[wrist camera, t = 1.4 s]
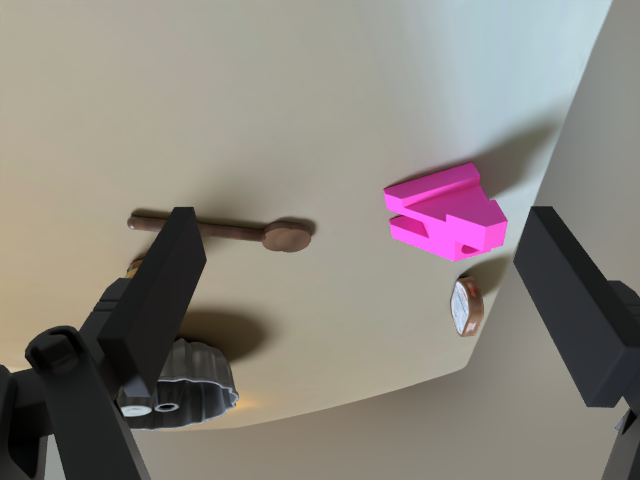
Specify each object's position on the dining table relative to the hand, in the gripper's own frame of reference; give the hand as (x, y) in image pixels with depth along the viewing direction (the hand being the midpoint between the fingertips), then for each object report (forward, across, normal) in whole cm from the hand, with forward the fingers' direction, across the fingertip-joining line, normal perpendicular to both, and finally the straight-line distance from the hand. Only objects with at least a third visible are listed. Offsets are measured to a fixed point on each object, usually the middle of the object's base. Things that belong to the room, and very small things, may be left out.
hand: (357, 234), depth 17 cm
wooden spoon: (+32, -16, -22) cm, 42 cm away
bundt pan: (+37, -35, -58) cm, 77 cm away
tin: (+48, +22, -48) cm, 71 cm away
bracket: (+38, +12, -21) cm, 45 cm away
